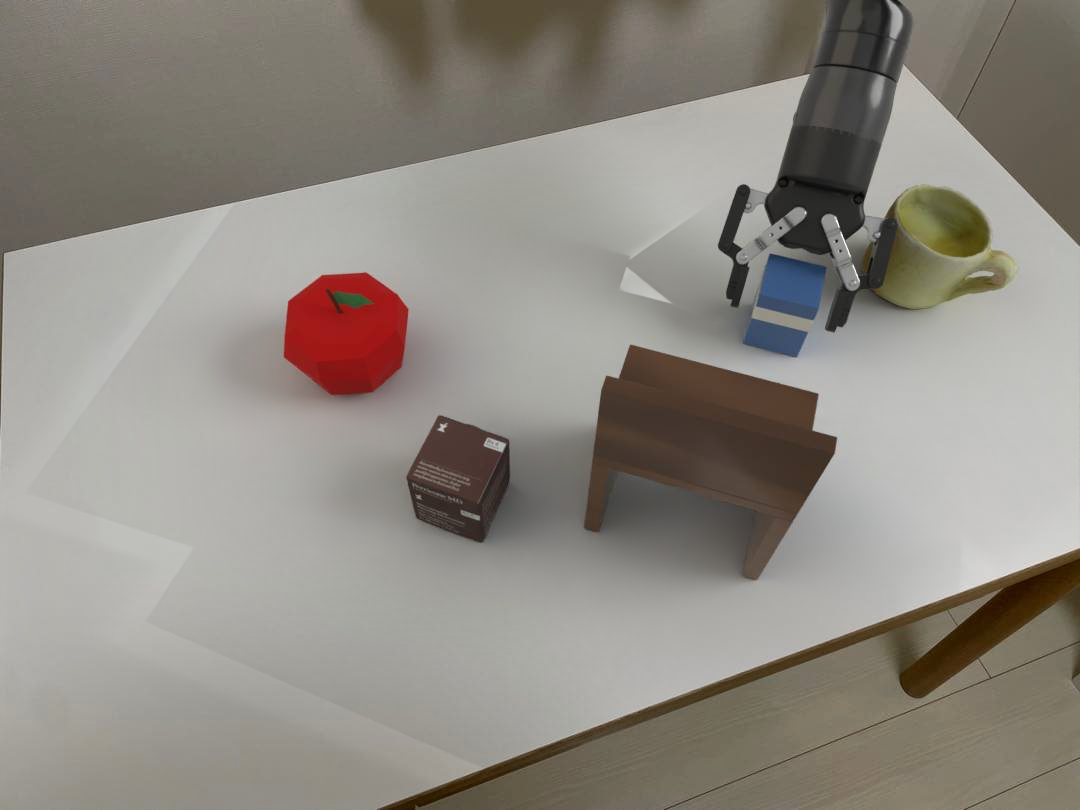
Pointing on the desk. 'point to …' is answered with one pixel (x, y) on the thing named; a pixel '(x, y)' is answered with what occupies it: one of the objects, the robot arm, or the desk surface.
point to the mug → (940, 249)
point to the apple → (346, 332)
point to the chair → (710, 441)
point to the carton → (785, 305)
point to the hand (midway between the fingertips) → (781, 318)
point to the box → (460, 478)
